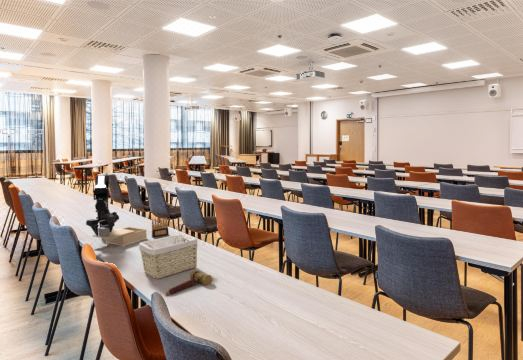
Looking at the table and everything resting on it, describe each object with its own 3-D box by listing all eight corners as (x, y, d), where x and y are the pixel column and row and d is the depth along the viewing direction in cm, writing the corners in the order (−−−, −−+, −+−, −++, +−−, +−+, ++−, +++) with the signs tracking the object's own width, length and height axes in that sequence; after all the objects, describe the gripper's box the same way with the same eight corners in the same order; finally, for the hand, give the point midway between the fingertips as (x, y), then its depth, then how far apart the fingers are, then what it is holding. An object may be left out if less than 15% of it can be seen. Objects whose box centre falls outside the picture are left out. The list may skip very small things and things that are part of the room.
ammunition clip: (152, 237, 242) (151, 219, 240) (151, 237, 243) (150, 219, 242) (168, 235, 247) (167, 217, 246) (167, 234, 249) (166, 216, 248)
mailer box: (106, 242, 233) (105, 233, 232) (129, 235, 248) (128, 226, 248) (123, 245, 225) (123, 236, 224) (146, 238, 240) (146, 229, 240)
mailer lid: (92, 236, 224) (91, 227, 224) (117, 229, 240) (116, 221, 239) (110, 239, 216) (109, 230, 216) (135, 232, 232) (134, 223, 231)
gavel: (171, 292, 148) (157, 286, 155) (173, 303, 149) (158, 296, 156) (212, 273, 164) (197, 268, 170) (212, 283, 164) (198, 278, 171)
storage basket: (154, 281, 168) (152, 249, 167) (139, 272, 180) (137, 242, 179) (200, 268, 184) (199, 238, 182) (183, 260, 196) (182, 232, 194)
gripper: (97, 212, 208) (99, 239, 210) (124, 206, 224) (126, 231, 226) (84, 210, 214) (86, 237, 215) (111, 205, 230) (113, 230, 231)
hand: (104, 234), depth 222 cm, fingers open, 9 cm apart
